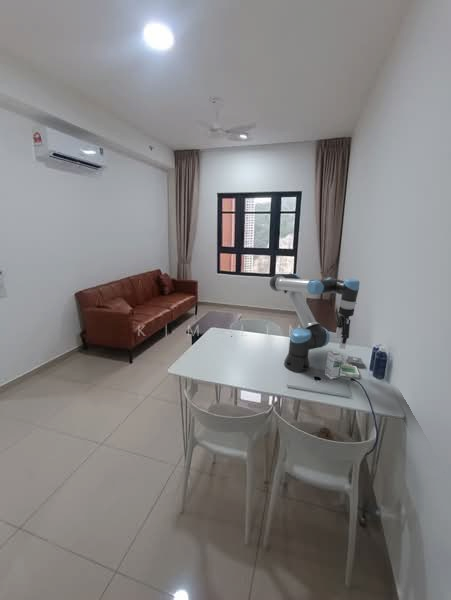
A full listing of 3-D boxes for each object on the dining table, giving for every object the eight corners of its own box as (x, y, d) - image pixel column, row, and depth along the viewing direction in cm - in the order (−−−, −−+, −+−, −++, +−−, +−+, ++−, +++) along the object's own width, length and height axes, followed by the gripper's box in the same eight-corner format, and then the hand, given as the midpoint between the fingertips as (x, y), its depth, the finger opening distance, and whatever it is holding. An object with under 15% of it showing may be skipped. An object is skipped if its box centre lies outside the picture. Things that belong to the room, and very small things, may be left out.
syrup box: (330, 379, 153) (334, 356, 149) (324, 374, 159) (328, 351, 155) (339, 378, 155) (343, 355, 151) (332, 373, 160) (336, 351, 156)
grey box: (350, 370, 165) (351, 364, 164) (347, 360, 177) (347, 355, 176) (364, 372, 163) (365, 367, 162) (360, 362, 175) (361, 357, 174)
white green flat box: (339, 376, 157) (340, 371, 157) (337, 365, 170) (337, 361, 169) (359, 379, 155) (360, 375, 154) (354, 368, 167) (355, 364, 167)
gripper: (360, 315, 134) (351, 354, 140) (349, 301, 157) (342, 335, 163) (344, 313, 135) (336, 351, 141) (335, 300, 159) (329, 333, 165)
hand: (339, 343), depth 152 cm, fingers open, 13 cm apart
